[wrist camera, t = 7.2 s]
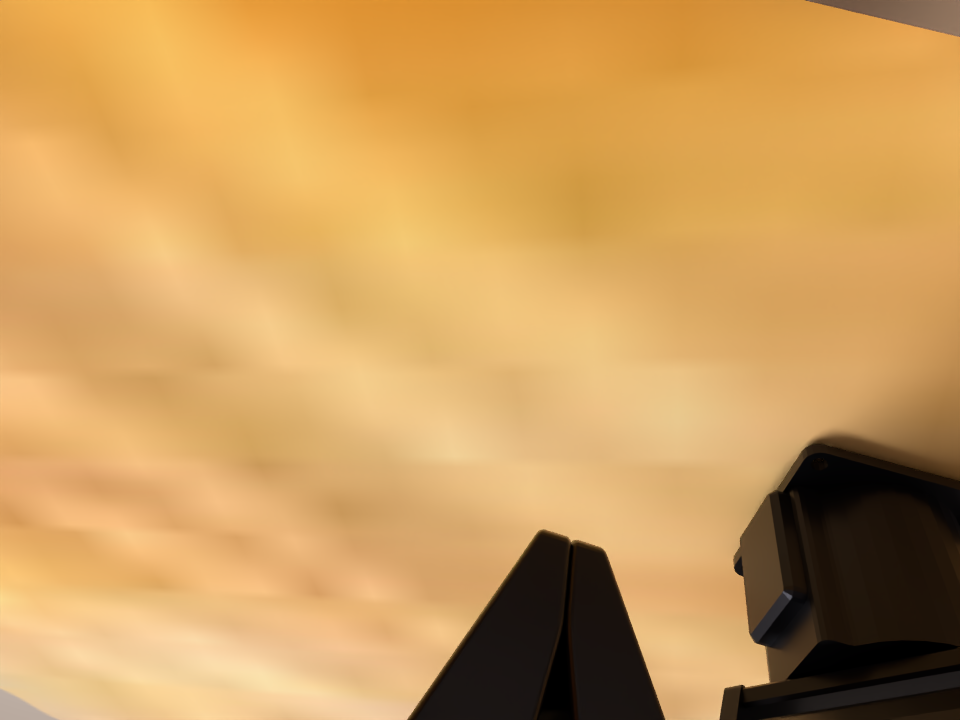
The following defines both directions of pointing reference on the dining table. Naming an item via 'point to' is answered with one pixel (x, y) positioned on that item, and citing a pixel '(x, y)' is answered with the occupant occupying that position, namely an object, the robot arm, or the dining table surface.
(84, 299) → the dining table surface
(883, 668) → the robot arm
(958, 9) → the board
